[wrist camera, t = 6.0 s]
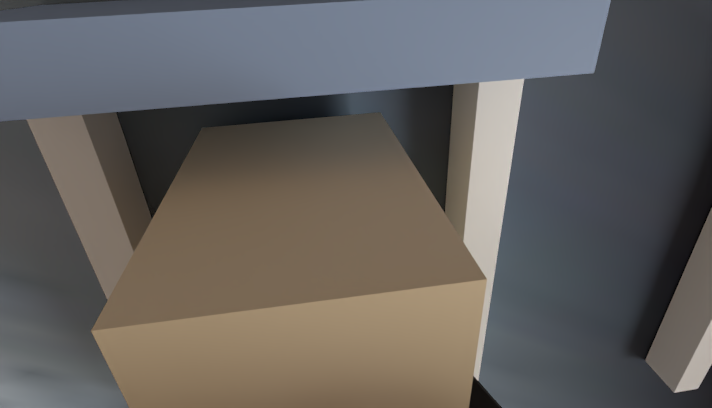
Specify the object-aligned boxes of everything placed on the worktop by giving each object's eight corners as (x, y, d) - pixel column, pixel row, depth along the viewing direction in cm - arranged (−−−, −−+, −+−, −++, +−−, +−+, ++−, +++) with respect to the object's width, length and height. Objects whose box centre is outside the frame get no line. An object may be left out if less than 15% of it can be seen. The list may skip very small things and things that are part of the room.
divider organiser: (667, 357, 17) (762, 454, 14) (194, 431, 15) (166, 565, 12) (854, -41, 10) (1143, -47, 7) (26, 6, 8) (-159, 31, 5)
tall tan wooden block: (385, 392, 15) (437, 626, 9) (268, 410, 14) (257, 665, 9) (380, 112, 10) (486, 280, 4) (202, 127, 9) (91, 331, 4)
